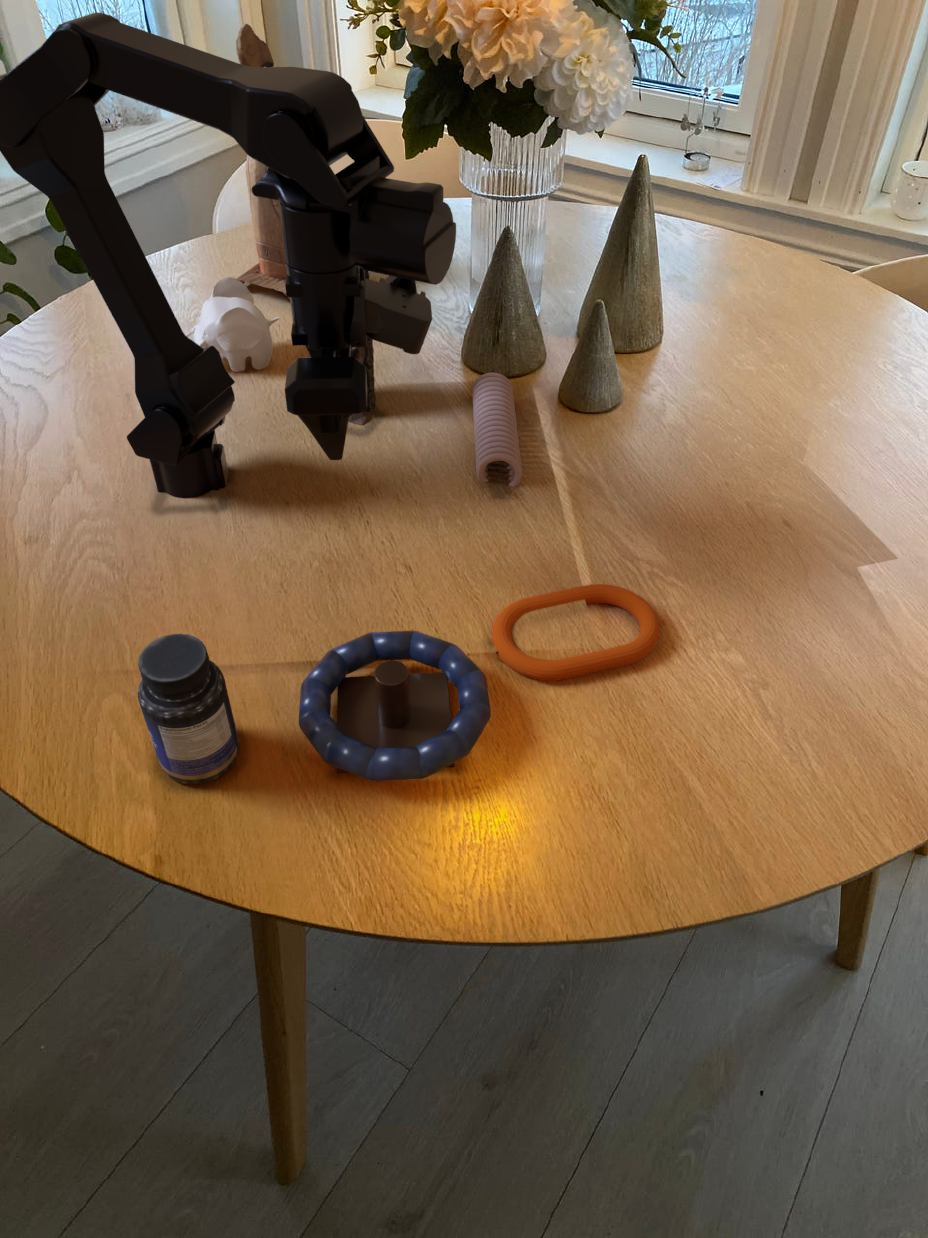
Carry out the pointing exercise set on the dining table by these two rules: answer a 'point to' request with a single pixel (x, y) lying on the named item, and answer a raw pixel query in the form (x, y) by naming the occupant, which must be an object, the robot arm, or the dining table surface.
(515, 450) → the coil
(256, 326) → the elephant figurine
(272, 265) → the bird sculpture
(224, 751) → the pill bottle
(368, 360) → the statue
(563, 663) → the orange oval loop
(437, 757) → the ring
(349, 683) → the stand
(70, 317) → the dining table surface
